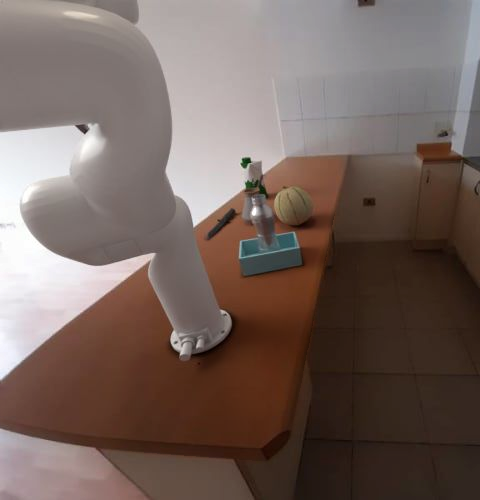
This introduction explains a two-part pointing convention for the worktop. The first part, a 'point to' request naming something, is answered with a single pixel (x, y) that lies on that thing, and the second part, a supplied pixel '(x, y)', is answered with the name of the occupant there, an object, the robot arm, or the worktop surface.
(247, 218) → the coffee pot
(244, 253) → the bin
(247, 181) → the milk carton
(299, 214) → the cantaloupe
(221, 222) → the knife
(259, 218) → the silver metal bottle
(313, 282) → the worktop surface
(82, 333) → the worktop surface
